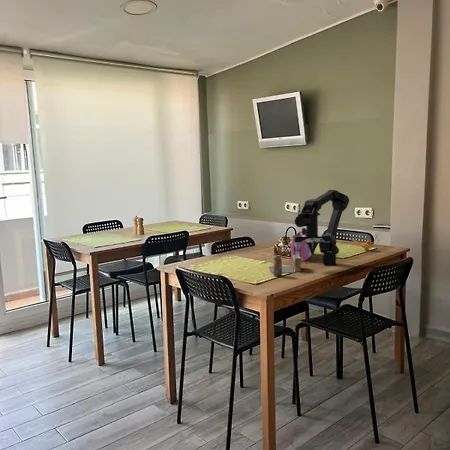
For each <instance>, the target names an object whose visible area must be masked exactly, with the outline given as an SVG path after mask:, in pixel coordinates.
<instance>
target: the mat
mask: <svg viewBox="0 0 450 450" xmlns="http://www.w3.org/2000/svg"><path fill="white" fill-rule="evenodd" d="M268 269H269V272H270V274H271V273H274V265H272V266H268ZM295 273H296V272H295V271H294V269H293V265H282V274H295Z"/></svg>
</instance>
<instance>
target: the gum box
mask: <svg viewBox="0 0 450 450" xmlns="http://www.w3.org/2000/svg"><path fill="white" fill-rule="evenodd" d="M295 235H301V236H302V237H306V236H305V235H302V231H299V232H297V233H296V234H295ZM293 237H294V235H293V236H291V237H290V240H291V242H290V251H291V252H290V255H291V256H290V261H291V262H293V255H299V256H300V258H301V262H305V261H306V260H308V259H309V258H310V257H311V256H312V255H311V252H310V249H309V246H308V244H306V243H305V242H304V241H305V240H302V242H294V241H293ZM311 242H312V247H313V240H311Z"/></svg>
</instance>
